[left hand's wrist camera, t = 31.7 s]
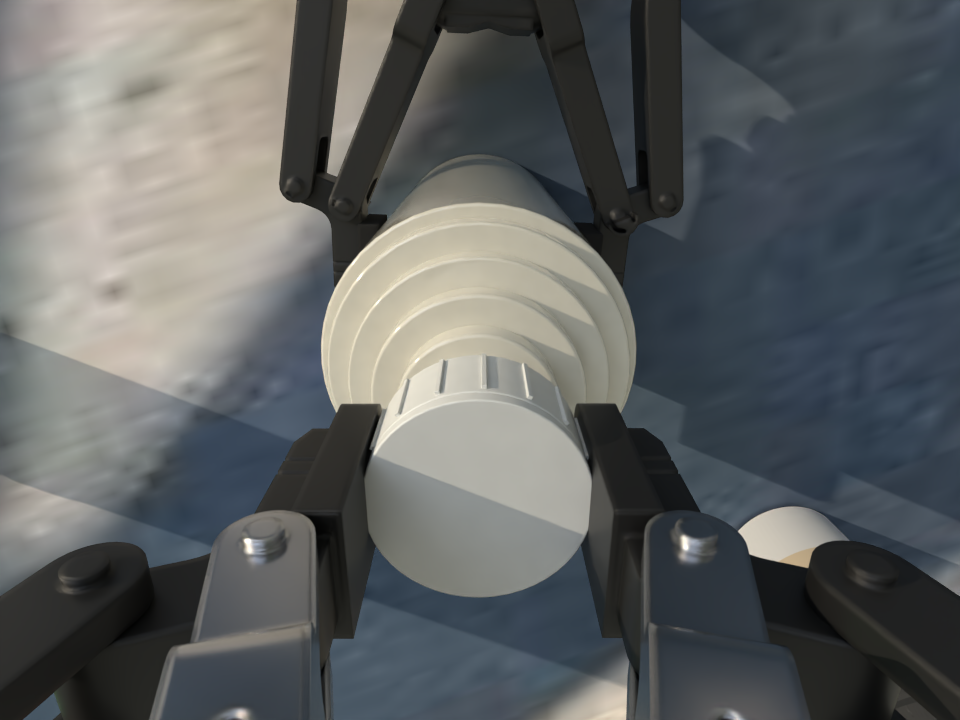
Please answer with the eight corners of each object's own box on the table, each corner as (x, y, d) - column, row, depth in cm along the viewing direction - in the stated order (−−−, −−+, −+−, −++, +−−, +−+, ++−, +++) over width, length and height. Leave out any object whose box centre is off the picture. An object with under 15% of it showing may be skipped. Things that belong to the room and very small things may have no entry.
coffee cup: (884, 552, 39) (1109, 798, 25) (764, 631, 41) (909, 896, 27) (800, 463, 37) (997, 681, 23) (678, 553, 39) (788, 800, 25)
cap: (456, 311, 11) (450, 350, 9) (621, 428, 12) (646, 485, 10) (338, 464, 12) (313, 525, 10) (497, 561, 13) (500, 634, 11)
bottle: (579, 179, 31) (789, 326, 10) (532, 328, 34) (617, 687, 13) (420, 134, 30) (283, 189, 9) (385, 290, 33) (220, 607, 12)
